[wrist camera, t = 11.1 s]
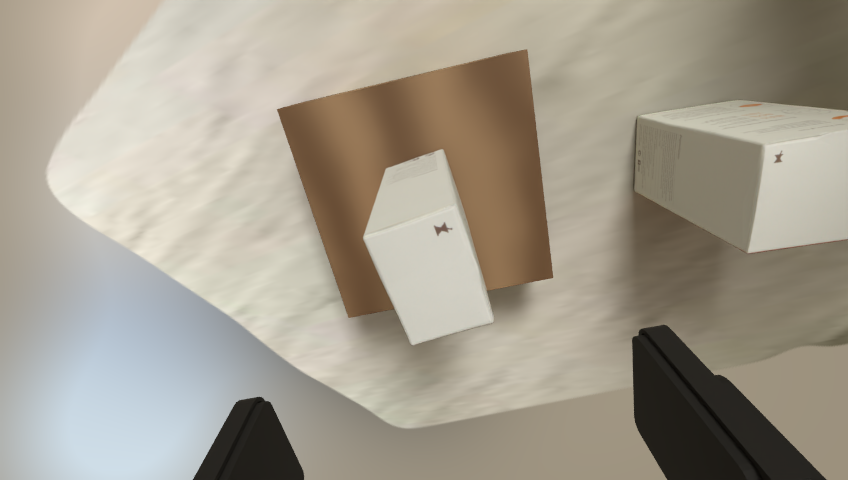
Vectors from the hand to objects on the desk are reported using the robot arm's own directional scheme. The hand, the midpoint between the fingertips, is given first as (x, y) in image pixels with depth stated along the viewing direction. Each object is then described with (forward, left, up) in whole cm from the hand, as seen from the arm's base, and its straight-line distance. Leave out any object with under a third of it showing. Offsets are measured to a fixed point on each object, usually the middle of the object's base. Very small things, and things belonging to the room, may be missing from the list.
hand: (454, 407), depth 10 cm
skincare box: (0, 0, -20) cm, 20 cm away
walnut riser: (+1, 0, -25) cm, 25 cm away
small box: (-20, +2, -26) cm, 33 cm away
